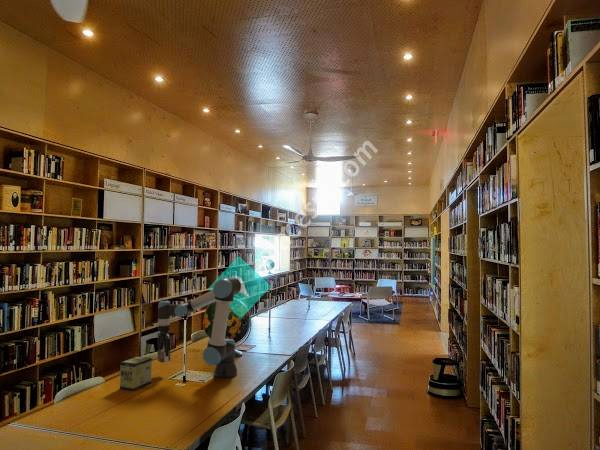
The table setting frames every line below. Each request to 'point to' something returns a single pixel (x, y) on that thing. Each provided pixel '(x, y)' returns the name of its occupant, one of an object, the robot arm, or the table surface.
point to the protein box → (135, 373)
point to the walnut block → (162, 355)
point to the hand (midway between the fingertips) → (163, 360)
